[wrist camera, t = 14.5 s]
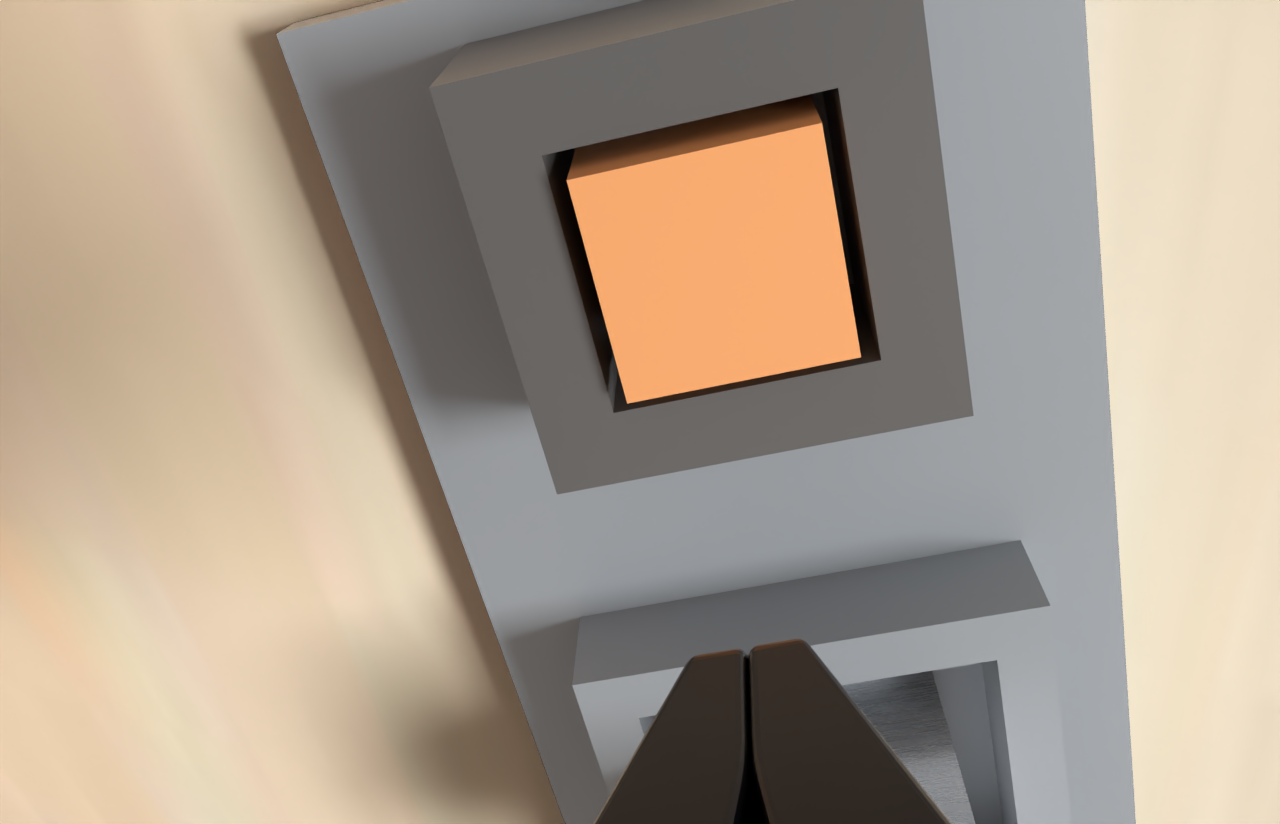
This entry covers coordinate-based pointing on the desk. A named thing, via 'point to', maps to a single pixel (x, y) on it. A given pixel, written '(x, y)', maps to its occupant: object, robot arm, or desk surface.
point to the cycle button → (716, 249)
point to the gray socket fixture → (771, 405)
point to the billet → (917, 736)
